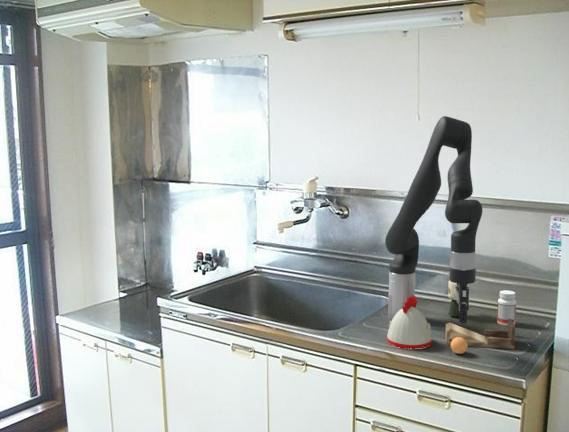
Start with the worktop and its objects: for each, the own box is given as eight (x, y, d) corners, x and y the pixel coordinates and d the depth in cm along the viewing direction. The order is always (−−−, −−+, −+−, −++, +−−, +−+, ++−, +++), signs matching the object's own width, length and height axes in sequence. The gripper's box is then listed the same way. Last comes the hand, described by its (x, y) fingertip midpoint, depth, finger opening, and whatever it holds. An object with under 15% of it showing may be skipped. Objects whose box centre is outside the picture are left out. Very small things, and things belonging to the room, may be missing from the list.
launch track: (446, 350, 199) (447, 323, 197) (445, 341, 207) (445, 315, 206) (514, 354, 194) (515, 327, 193) (510, 345, 203) (511, 318, 202)
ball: (450, 355, 189) (451, 339, 189) (450, 349, 194) (450, 334, 193) (468, 356, 188) (468, 340, 188) (466, 350, 193) (467, 335, 192)
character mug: (451, 310, 234) (452, 277, 233) (471, 313, 231) (472, 279, 229) (444, 318, 225) (444, 283, 223) (464, 321, 222) (465, 285, 220)
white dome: (438, 341, 202) (439, 296, 200) (418, 353, 192) (419, 305, 190) (400, 332, 211) (401, 289, 209) (379, 343, 201) (379, 298, 199)
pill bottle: (503, 319, 223) (504, 288, 222) (519, 323, 219) (520, 292, 217) (493, 323, 219) (494, 291, 218) (509, 327, 215) (510, 295, 213)
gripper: (448, 260, 195) (447, 311, 197) (451, 271, 181) (450, 325, 183) (473, 261, 194) (472, 312, 196) (478, 271, 180) (477, 326, 182)
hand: (461, 318), depth 190 cm, fingers open, 8 cm apart
